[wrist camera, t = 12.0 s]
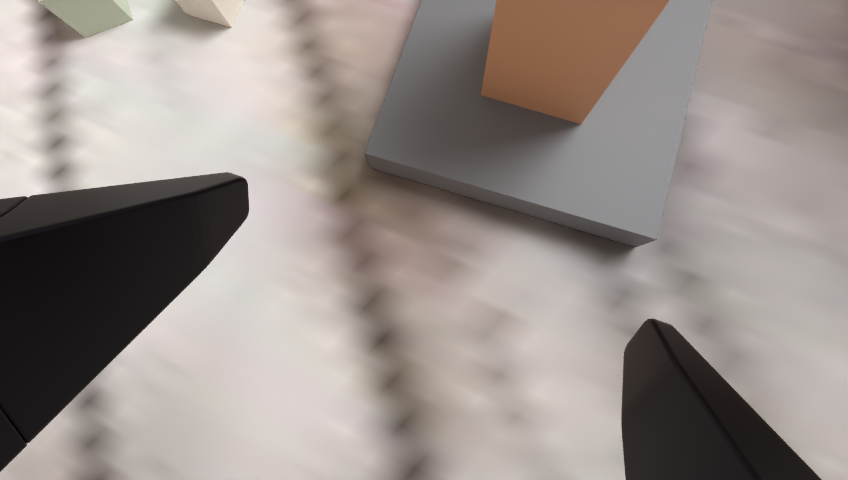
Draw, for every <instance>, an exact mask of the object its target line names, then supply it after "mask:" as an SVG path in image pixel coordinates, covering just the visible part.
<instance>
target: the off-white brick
mask: <svg viewBox="0 0 848 480" xmlns="http://www.w3.org/2000/svg"><path fill="white" fill-rule="evenodd" d="M175 1H176V2H177V4H178V5H179V6H180V7H181V8H182V9H183V11H184V12H185V13H186V14H187V15H190V16H193V17H197V18H200V19H204V20H207V21H211V22H214V23H218V24H221V25H225V26H228V27H232V26H233V24H234V22H235V20H236V18H237V16H238V13H239V11H240V9H241V7H242V5H243V3H244V1H245V0H175Z"/></svg>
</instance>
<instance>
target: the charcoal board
mask: <svg viewBox="0 0 848 480" xmlns="http://www.w3.org/2000/svg"><path fill="white" fill-rule="evenodd" d="M711 4H712V0H670V1H669V2H668V4H667V5H666V6H665V8H664V9H663V11H662V12H661V13H660V15H659V16H658V18H657V19H656V20H655V22H654V23H653V25H652V26H651V27H650V29H649V30H648V32H647V33H646V34H645V36H644V37H643V39H642V40H641V41H640V43H639V44H638V46H637V47H636V48H635V50H634V51H633V53H632V54H631V55H630V57H629V58H628V60H627V61H626V62H625V64H624V65H623V67H622V68H621V69H620V71H619V72H618V74H617V75H616V76H615V78H614V79H613V81H612V82H611V83H610V85H609V86H608V88H607V89H606V90H605V92H604V93H603V95H602V96H601V97H600V99H599V100H598V102H597V103H596V104H595V106H594V107H593V109H592V110H591V111H590V113H589V114H588V115H587V117H586V118H585V120H584V121H583V122H582V124H578V123H575V122H571V121H568V120H565V119H561V118H558V117H554V116H551V115H547V114H544V113H541V112H537V111H534V110H530V109H527V108H523V107H520V106H516V105H513V104H510V103H506V102H503V101H499V100H496V99H492V98H489V97H485V96H482V95H481V90H482V84H483V78H484V72H485V66H486V60H487V54H488V48H489V42H490V36H491V30H492V24H493V18H494V12H495V5H496V0H422V1H421V3H420V6H419V9H418V11H417V14H416V17H415V19H414V22H413V25H412V27H411V30H410V33H409V35H408V38H407V41H406V43H405V46H404V49H403V51H402V54H401V57H400V59H399V62H398V65H397V67H396V70H395V73H394V75H393V78H392V81H391V83H390V86H389V89H388V91H387V94H386V97H385V99H384V102H383V105H382V107H381V110H380V113H379V115H378V118H377V121H376V123H375V126H374V129H373V131H372V134H371V137H370V139H369V142H368V145H367V147H366V150H365V156H366V158H367V160H368V162H369V164H370V166H371V168H372V169H376V170H379V171H382V172H386V173H389V174H393V175H396V176H399V177H403V178H406V179H409V180H413V181H416V182H419V183H423V184H426V185H429V186H433V187H436V188H439V189H443V190H446V191H449V192H453V193H456V194H460V195H463V196H466V197H470V198H473V199H476V200H480V201H483V202H486V203H490V204H493V205H496V206H500V207H503V208H506V209H510V210H513V211H516V212H520V213H523V214H527V215H530V216H533V217H537V218H540V219H543V220H547V221H550V222H553V223H557V224H560V225H563V226H567V227H570V228H573V229H577V230H580V231H583V232H587V233H590V234H594V235H597V236H600V237H604V238H607V239H610V240H614V241H617V242H620V243H624V244H627V245H630V246H634V247H638V246H640V245H643V244H646V243H649V242H652V241H654V240H657V238H658V233H659V229H660V225H661V220H662V216H663V212H664V207H665V203H666V199H667V194H668V190H669V186H670V182H671V177H672V173H673V169H674V164H675V160H676V156H677V151H678V147H679V143H680V138H681V134H682V130H683V125H684V121H685V117H686V112H687V108H688V104H689V99H690V95H691V91H692V86H693V82H694V78H695V73H696V69H697V65H698V60H699V56H700V52H701V47H702V43H703V39H704V34H705V30H706V26H707V21H708V17H709V13H710V8H711Z"/></svg>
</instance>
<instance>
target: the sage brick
mask: <svg viewBox="0 0 848 480" xmlns="http://www.w3.org/2000/svg"><path fill="white" fill-rule="evenodd" d="M38 2H39V3H40V4H42V5H43V6H44V7H46V8H47V9H48V10H50V11H51V12H52V13H54V14H55V15H56V16H57V17H59V18H60V19H61V20H63V21H64V22H65V23H67V24H68V25H69V26H70V27H72V28H73V29H74V30H76V31H77V32H78V33H80V34H81V35H82V36H84V37H85V38H87V37H90V36H92V35H95V34H97V33H100V32H103V31H105V30H108V29H110V28H113V27H115V26H118V25H121V24H123V23H126V22H128V21H131V20H133V18H132V15H131V11H130V8H129V5H128V1H127V0H38Z"/></svg>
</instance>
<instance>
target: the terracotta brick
mask: <svg viewBox="0 0 848 480" xmlns="http://www.w3.org/2000/svg"><path fill="white" fill-rule="evenodd" d="M669 1H670V0H496V5H495V12H494V18H493V24H492V30H491V36H490V42H489V48H488V54H487V60H486V66H485V72H484V78H483V84H482V90H481V95H482V96H485V97H489V98H492V99H496V100H499V101H503V102H506V103H510V104H513V105H516V106H520V107H523V108H527V109H530V110H534V111H537V112H541V113H544V114H547V115H551V116H554V117H558V118H561V119H565V120H568V121H571V122H575V123H578V124H582V122H583V121H584V120H585V118H586V117H587V115H588V114H589V113H590V111H591V110H592V109H593V107H594V106H595V104H596V103H597V102H598V100H599V99H600V97H601V96H602V95H603V93H604V92H605V90H606V89H607V88H608V86H609V85H610V83H611V82H612V81H613V79H614V78H615V76H616V75H617V74H618V72H619V71H620V69H621V68H622V67H623V65H624V64H625V62H626V61H627V60H628V58H629V57H630V55H631V54H632V53H633V51H634V50H635V48H636V47H637V46H638V44H639V43H640V41H641V40H642V39H643V37H644V36H645V34H646V33H647V32H648V30H649V29H650V27H651V26H652V25H653V23H654V22H655V20H656V19H657V18H658V16H659V15H660V13H661V12H662V11H663V9H664V8H665V6H666V5H667V4H668V2H669Z"/></svg>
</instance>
